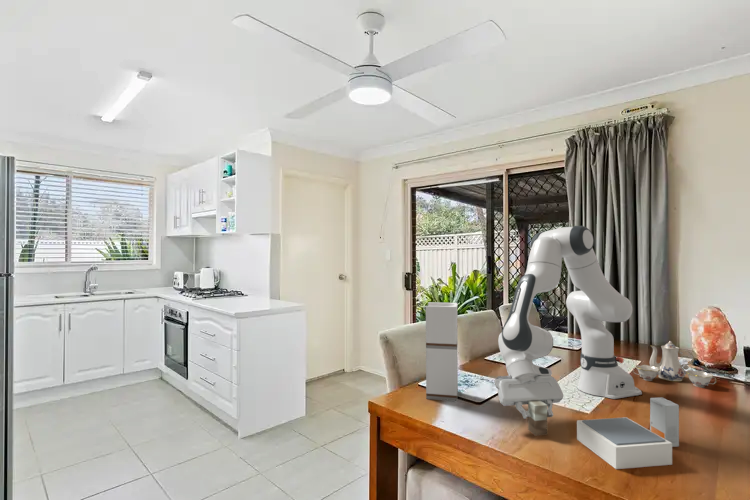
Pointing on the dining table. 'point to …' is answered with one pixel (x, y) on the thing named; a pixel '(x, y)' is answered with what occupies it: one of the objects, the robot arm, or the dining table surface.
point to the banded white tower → (441, 351)
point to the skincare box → (665, 419)
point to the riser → (624, 443)
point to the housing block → (537, 417)
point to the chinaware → (672, 367)
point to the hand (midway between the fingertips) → (538, 417)
